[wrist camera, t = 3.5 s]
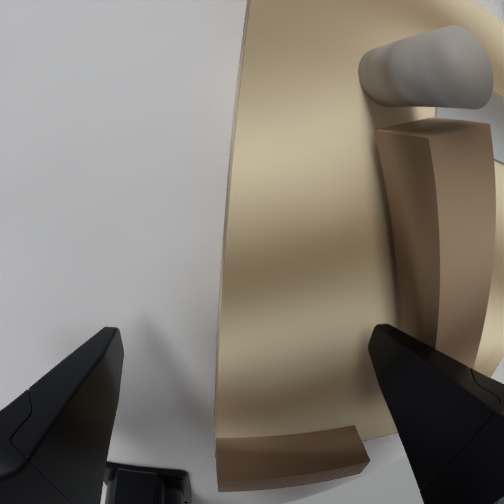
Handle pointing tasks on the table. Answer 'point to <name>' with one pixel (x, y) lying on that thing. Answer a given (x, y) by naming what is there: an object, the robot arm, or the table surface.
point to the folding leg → (442, 228)
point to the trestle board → (331, 221)
